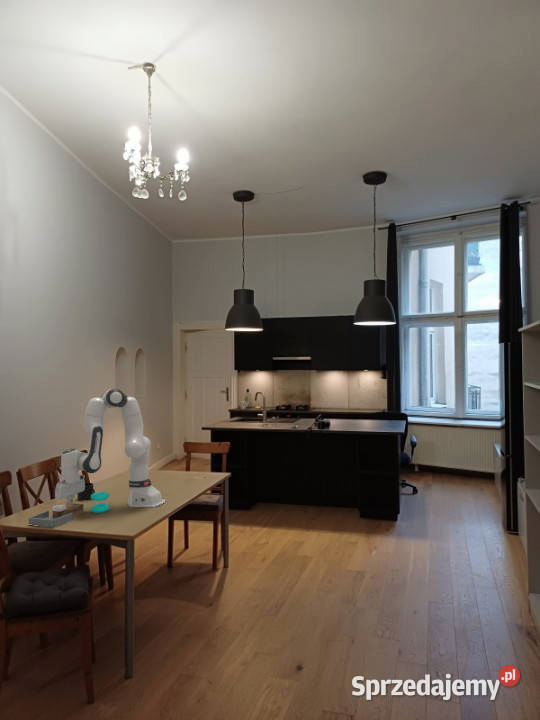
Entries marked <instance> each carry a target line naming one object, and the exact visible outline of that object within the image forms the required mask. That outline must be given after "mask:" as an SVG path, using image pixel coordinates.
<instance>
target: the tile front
mask: <svg viewBox="0 0 540 720" xmlns="http://www.w3.org/2000/svg"><path fill="white" fill-rule="evenodd" d="M51 509H52V511H62V510H65V509H66V505H62V504H61V503H59V504H56V505H53V506H52V508H51Z"/></svg>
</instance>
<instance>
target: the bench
mask: <svg viewBox="0 0 540 720" xmlns="http://www.w3.org/2000/svg"><path fill="white" fill-rule="evenodd" d="M84 505H85V504H84V503H74V502H73V507H70V508H67V509H65V510H62V511H52V517H62V516H64V515H67V514H69V513H73V518H76V517H78V516H80V515H79V514H81V515H83V514H84V513H85V512H84V511H85V510H84ZM82 513H83V514H82ZM77 515H78V516H77ZM75 516H76V517H75Z"/></svg>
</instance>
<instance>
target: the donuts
mask: <svg viewBox="0 0 540 720" xmlns="http://www.w3.org/2000/svg"><path fill="white" fill-rule="evenodd" d="M109 496H110V493H109V492H106V491H98V492H97V491H96V492H95V493H94V492H93V494H92V495H91V500H92V501H94V502H102V501H106V500H107V499H109ZM109 510H110V505H109V504H107V503H96V504H94V505H92V506H91V508H90V511H91V512H92V513H95V514H101V513H105V512H107V511H109Z"/></svg>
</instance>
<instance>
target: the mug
mask: <svg viewBox="0 0 540 720" xmlns="http://www.w3.org/2000/svg"><path fill="white" fill-rule="evenodd" d="M93 493H96V491H95V489H94V483H93V482H85V489H84V491H82V492H79V493H77V494H76V496H77V501H79V500H87V501H91V500H92V499H91V495H92V494H93Z"/></svg>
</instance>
